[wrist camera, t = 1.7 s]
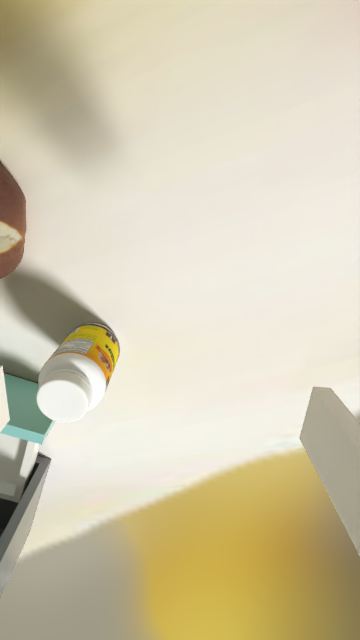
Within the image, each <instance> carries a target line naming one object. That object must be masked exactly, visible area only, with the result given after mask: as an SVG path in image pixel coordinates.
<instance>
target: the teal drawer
mask: <svg viewBox="0 0 360 640" xmlns="http://www.w3.org/2000/svg"><path fill="white" fill-rule="evenodd" d="M4 380H5V387H6V395H7V402H8V410H9V417H10V420H9V422H8V423H7V424H6V426H5V427H4V428H3V430H2V431H1V432H0V498H2V499H6V500H10V501H13V502H17V503H19V502H20V500H21V498H22V496H23V494H24V492H25V490H26V488H27V487H28V485H29V483H30V479H31V475H32V472H33V468H34V465H35V461H36V457H37V454H38V450H39V446H40V444H41V445H42V443H43V442H44V440H45V438H46V436H47V435H48V433H49V431H50V429H51V427H52V426H53V424H54V422H55V421H54V420H52V419H50V418H48V417H47V416H45V415H44V414H43V413H42V412H41V410H40V409H39V407H38V404H37V399H36V398H37V392H38V390H39V384H38V383H35V382H32V381H28V380H25V379H22V378H18V377H15V376H12V375H8V374H5V373H4Z"/></svg>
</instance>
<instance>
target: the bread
mask: <svg viewBox="0 0 360 640" xmlns="http://www.w3.org/2000/svg"><path fill="white" fill-rule="evenodd" d="M25 233H26V200H25V197H24V194H23V192H22V191H21V189H20V187H19V186H18V185H17V183H16V182H15V181H14V180H13V178H12V177H11V176H10V174H9V173H8V172H7V171H6V170H5V169H4V167H3V166H2V165H1V164H0V279H1V278H3V277H5V276H7V275H8V274H10V273H11V272H12V271H13V270H14V269H15V268H16V267H17V266H18V264H19V263H20V261H21V259H22V257H23V252H24V243H25Z"/></svg>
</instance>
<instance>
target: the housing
mask: <svg viewBox="0 0 360 640" xmlns="http://www.w3.org/2000/svg"><path fill="white" fill-rule="evenodd" d="M50 461H51V459H49V458H45V457H41V456H38V455H37V457H36V461H35V465H34V468H33V472H32V475H31V479H30V483H29V485H28V487H27V488H26V490H25V492H24V494H23V496H22V498H21V500H20V502H19V503H17V502H13V501H10V500H6V499H2V498H0V597H1V595H2V593H3V590H4V588H5V586H6V583H7V582H8V579H9V577H10V575H11V573H12V570H13V568H14V566H15V564H16V561H17V559H18V557H19V555H20V553H21V550H22V548H23V546H24V544H25V541H26V539H27V537H28V535H29V532H30V529H31V526H32V522H33V519H34V515H35V512H36V509H37V505H38V502H39V499H40V495H41V492H42V488H43V485H44V482H45V478H46V475H47V472H48V468H49V465H50Z"/></svg>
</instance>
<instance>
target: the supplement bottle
mask: <svg viewBox="0 0 360 640" xmlns="http://www.w3.org/2000/svg"><path fill="white" fill-rule="evenodd" d="M119 353H120V345H119V341H118V339H117V337H116V336H115V334H114V333H113V332H112V331H111V330H110V329H109V328H107V327H106V326H103V325H101V324H97V323H86V324H82V325H80V326H78V327H76V328H75V329H74V330H73V331H72V332H71V333H70V334H69V335H68V336H67V338H66V339H65V340H64V341H63V342H62V344H61V345H60V346H59V347H58V348H57V350H56V351H55V352H54V353H53V355H52V356H51V357H50V358H49V359H48V361H47V362H46V363H45V364H44V366H43V367H42V369H41V371H40V374H39V378H38V384H39V390H38V392H37V398H36V399H37V404H38V407H39V409H40V410H41V412H42V413H43V414H44V415H45V416H47V417H48V418H50V419H52V420H54V421H57V422H63V423H68V422H73V421H76V420H78V419H80V418H81V417H83V415H84V414H85V413H86V411H88V410H90V409H92V408H94V407H95V406H96V405H97V404H98V403H99V402H100V401H101V400H102V398H103V396H104V394H105V391H106V388H107V386H108V383H109V381H110V378H111V375H112V373H113V370H114V368H115V365H116V362H117V360H118V357H119Z"/></svg>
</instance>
